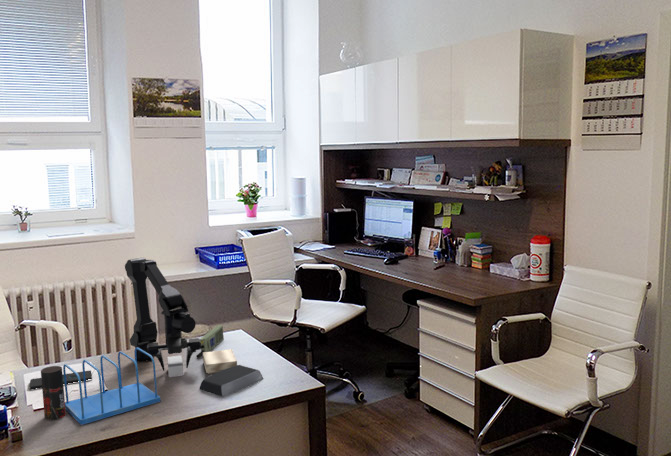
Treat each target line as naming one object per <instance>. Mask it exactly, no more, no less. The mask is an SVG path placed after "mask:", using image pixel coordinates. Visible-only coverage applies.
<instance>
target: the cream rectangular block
mask: <svg viewBox="0 0 671 456" xmlns="http://www.w3.org/2000/svg"><path fill="white" fill-rule="evenodd" d="M202 359H203V360H202V361H203V365H204V369H205V372H206V374H208V375H209V376H210V375H212V374H214V373H217V372H219V371H221V370H224V369H227V368H230V367H233V366H237V365H238V360H237V358H236V355H235V353H234V350H233V348H232V349H230V348H229V349H221V350H213V351H212V350H211V351H210V352H203V355H202Z"/></svg>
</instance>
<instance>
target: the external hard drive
mask: <svg viewBox="0 0 671 456" xmlns="http://www.w3.org/2000/svg"><path fill="white" fill-rule="evenodd" d="M263 379H264V378H263V374H262V373H261V371H260V370H259V369H256V368H252V367H248V366H245V365H242V364H237V366H233V367H230V368H227V369H224V370H221V371H219V372H217V373H214V374H210V375H209V376H207V377H205V378H204V379H202V381H201V383H200V386H199V389H198V390H200V391H203V392H206V393H209V394H213V395H214V396H215V395H216V396H218V397H220V398H221V397H222V398H224V397H227V396H229V395H232V394H234V393H237V392H239V391H242V390H244V389H247V388H249V387H251V386H252V385H254V384H257V383H258V381H259V382H260V381H262V380H263ZM248 386H249V387H248Z"/></svg>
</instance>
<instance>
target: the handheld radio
mask: <svg viewBox="0 0 671 456" xmlns="http://www.w3.org/2000/svg"><path fill="white" fill-rule="evenodd" d="M199 339H200V342H201V349H200V352H199V353H197V354H196V358H201V356H203V352H212V350H213V349H214V348H216V346H218V345H219V344H220V343H221V342H223V341H224V340H225V339H224V328H223V324H217V325H216V326H215V327H214V328H212V329H211V330H209V331H208V332H207V333H205V335H203V336H202V337H201V338H199Z"/></svg>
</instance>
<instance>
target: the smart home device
mask: <svg viewBox="0 0 671 456" xmlns="http://www.w3.org/2000/svg"><path fill="white" fill-rule="evenodd" d="M76 372H77V373H78V374H79V377H80V380H81V381H84V379H83V371H76ZM62 374H63V384H65V383H64V373H62ZM85 379H86V380H88V379H92V380H93V375H92V370H85ZM66 382H67V385H69V384H68V383H73V382H78V378H77V376H76V374H74V373H73V372H71V373H66ZM73 384H74V383H73ZM36 388H41V389H42V380H41V377H38V378H37V377H36V378H32V379H30V381H29V390H30V389H34V390H37V389H36Z"/></svg>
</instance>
